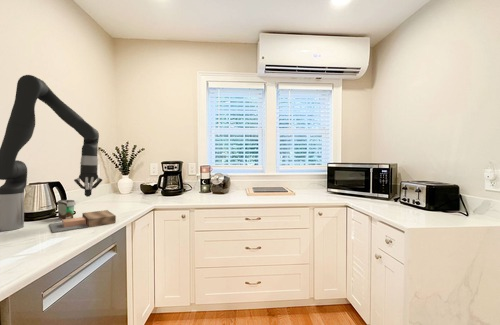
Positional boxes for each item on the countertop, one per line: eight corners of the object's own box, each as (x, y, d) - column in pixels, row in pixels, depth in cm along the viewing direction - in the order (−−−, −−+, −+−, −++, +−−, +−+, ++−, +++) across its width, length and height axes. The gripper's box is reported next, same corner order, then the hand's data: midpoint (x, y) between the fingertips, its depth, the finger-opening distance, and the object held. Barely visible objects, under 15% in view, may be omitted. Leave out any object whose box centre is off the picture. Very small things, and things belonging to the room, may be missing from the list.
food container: (79, 218, 131) (79, 201, 131) (66, 221, 126) (67, 202, 126) (69, 215, 137) (70, 199, 137) (57, 217, 132) (57, 200, 132)
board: (89, 227, 116) (89, 219, 115) (82, 220, 128) (82, 213, 128) (115, 222, 124) (115, 215, 124) (106, 216, 137) (106, 210, 137)
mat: (52, 233, 106) (52, 232, 106) (49, 224, 118) (49, 223, 118) (87, 227, 115) (87, 226, 115) (81, 220, 128) (81, 219, 128)
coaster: (64, 227, 113) (64, 222, 113) (62, 224, 118) (62, 219, 117) (86, 224, 119) (86, 219, 119) (83, 221, 124) (83, 216, 124)
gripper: (75, 164, 115) (73, 198, 115) (105, 164, 125) (104, 196, 125) (72, 163, 120) (71, 196, 121) (101, 164, 130) (100, 194, 130)
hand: (87, 196), depth 123 cm, fingers closed
